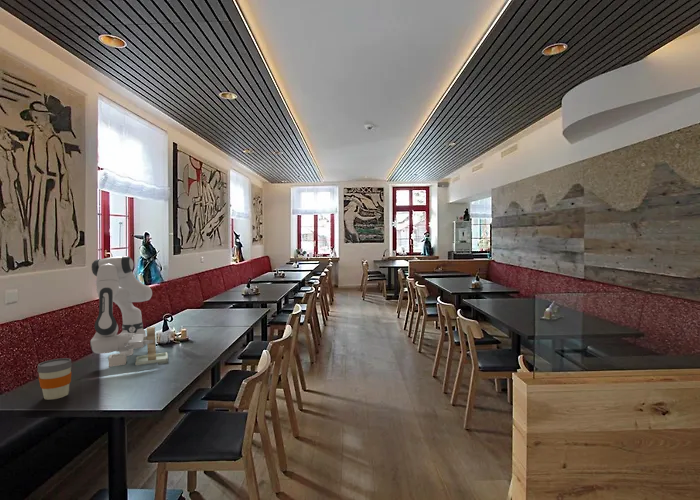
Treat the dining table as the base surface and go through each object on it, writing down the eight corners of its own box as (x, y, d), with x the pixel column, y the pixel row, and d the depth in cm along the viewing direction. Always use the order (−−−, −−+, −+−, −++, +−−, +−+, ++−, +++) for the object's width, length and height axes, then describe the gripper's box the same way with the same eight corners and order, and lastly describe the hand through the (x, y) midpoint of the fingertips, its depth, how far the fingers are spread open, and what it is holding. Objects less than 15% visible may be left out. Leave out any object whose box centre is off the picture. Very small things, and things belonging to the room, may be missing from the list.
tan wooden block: (148, 359, 235) (146, 327, 234) (156, 358, 237) (154, 326, 236) (148, 360, 231) (146, 328, 231) (156, 359, 233) (154, 327, 232)
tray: (136, 360, 237) (136, 356, 237) (167, 356, 244) (167, 352, 244) (135, 367, 224) (135, 362, 224) (168, 362, 231) (167, 358, 231)
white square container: (110, 364, 231) (110, 354, 231) (126, 362, 234) (126, 352, 234) (108, 368, 224) (108, 358, 223) (125, 366, 227) (125, 356, 227)
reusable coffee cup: (53, 390, 192) (51, 358, 192) (79, 390, 192) (78, 357, 191) (31, 401, 180) (29, 366, 179) (59, 401, 179) (58, 366, 179)
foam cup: (127, 359, 241) (126, 336, 240) (113, 358, 243) (112, 336, 242) (139, 354, 250) (138, 332, 250) (125, 353, 252) (124, 332, 252)
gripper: (123, 341, 219) (152, 337, 224) (126, 333, 237) (153, 330, 243) (123, 352, 219) (152, 349, 225) (126, 344, 238) (153, 341, 243)
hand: (153, 339), depth 234 cm, fingers open, 7 cm apart
